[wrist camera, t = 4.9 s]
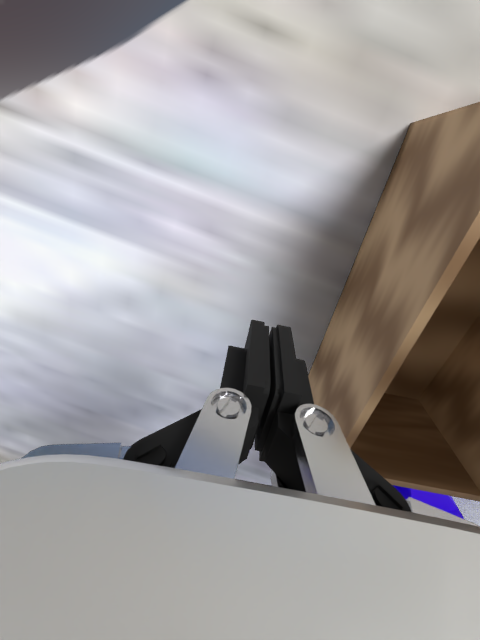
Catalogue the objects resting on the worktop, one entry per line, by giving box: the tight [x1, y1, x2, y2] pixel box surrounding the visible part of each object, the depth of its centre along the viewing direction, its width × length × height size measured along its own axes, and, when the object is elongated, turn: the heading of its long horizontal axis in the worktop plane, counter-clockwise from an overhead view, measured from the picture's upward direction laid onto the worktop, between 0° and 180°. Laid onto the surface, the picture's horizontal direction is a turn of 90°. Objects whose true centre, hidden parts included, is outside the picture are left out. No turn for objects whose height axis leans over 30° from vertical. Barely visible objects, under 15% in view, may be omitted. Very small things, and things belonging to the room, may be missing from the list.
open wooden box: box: [308, 102, 480, 501], centre depth 19 cm, size 22×12×10 cm, turn 169°
